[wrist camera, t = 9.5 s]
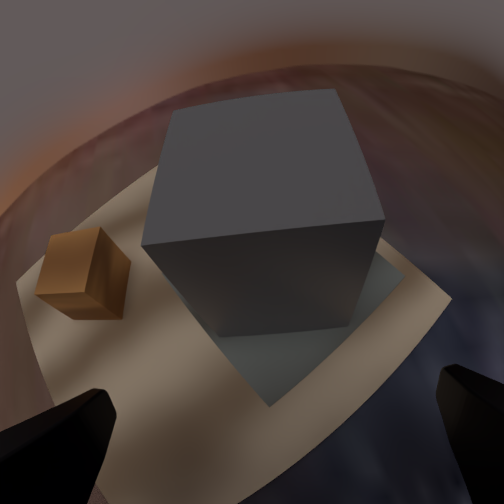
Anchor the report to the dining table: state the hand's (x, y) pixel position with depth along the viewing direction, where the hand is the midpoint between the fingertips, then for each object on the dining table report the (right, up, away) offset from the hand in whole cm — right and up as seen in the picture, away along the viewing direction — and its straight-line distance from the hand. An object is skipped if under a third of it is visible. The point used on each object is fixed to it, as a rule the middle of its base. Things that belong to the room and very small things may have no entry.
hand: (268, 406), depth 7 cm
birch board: (-4, +1, +11) cm, 12 cm away
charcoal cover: (+1, +3, +10) cm, 11 cm away
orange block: (-10, +1, +12) cm, 15 cm away
